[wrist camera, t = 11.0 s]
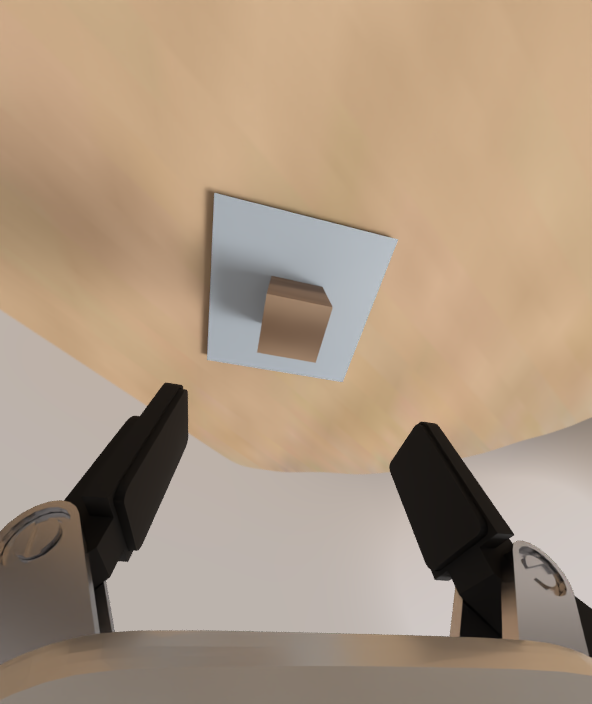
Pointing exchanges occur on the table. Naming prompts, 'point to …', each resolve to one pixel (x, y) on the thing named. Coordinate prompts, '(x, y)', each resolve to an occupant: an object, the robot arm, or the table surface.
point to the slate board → (294, 264)
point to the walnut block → (294, 320)
